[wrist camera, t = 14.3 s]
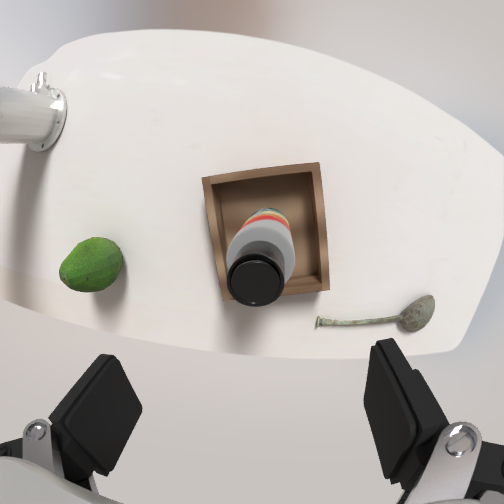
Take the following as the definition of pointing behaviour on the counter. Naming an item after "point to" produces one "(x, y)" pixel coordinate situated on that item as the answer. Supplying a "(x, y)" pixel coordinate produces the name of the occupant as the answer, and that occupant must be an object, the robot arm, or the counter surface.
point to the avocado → (91, 265)
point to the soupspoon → (398, 316)
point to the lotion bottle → (260, 258)
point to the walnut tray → (283, 199)
